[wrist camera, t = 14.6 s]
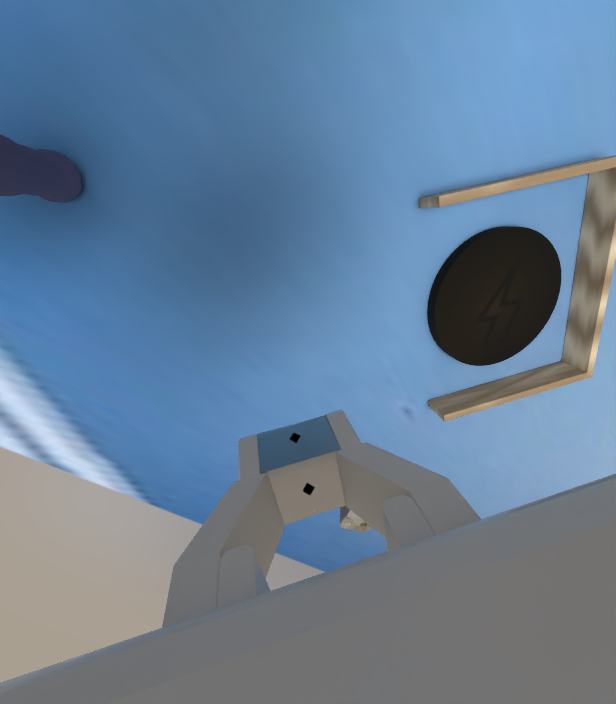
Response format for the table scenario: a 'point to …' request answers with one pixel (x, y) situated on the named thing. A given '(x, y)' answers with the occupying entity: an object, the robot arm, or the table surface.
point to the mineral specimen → (352, 521)
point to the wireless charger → (494, 295)
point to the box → (587, 292)
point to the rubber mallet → (37, 173)
